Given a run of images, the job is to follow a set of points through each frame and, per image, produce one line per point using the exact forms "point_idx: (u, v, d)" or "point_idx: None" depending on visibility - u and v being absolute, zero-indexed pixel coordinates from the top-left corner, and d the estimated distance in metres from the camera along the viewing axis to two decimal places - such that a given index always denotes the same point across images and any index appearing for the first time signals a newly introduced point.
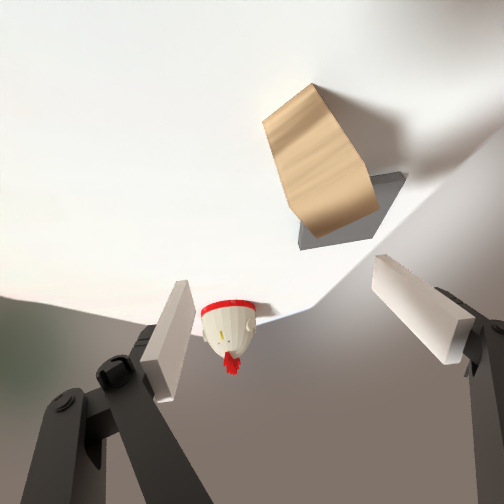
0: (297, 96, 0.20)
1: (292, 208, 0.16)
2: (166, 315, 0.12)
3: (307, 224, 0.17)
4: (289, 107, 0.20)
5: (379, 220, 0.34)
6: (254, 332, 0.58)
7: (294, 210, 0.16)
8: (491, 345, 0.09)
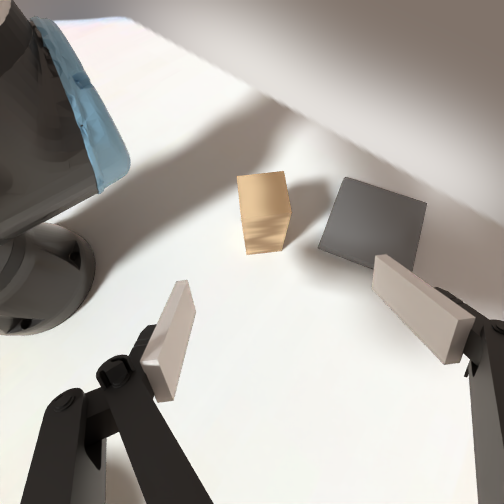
0: None
1: (243, 216, 0.23)
2: (166, 315, 0.12)
3: (267, 213, 0.23)
4: None
5: (393, 195, 0.34)
6: None
7: (246, 216, 0.23)
8: (491, 345, 0.09)
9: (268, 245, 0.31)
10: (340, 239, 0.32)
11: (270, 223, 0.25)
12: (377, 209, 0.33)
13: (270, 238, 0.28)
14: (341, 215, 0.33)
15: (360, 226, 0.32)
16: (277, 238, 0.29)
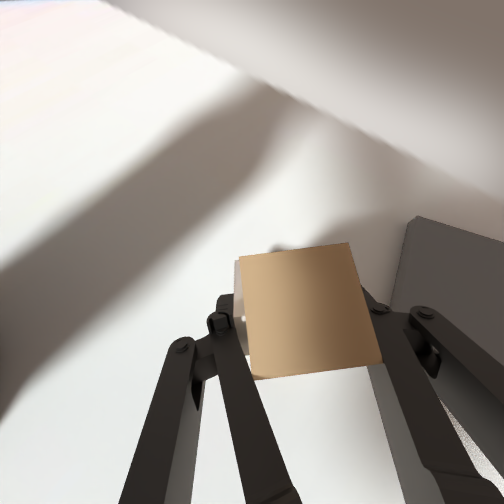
0: None
1: (259, 376, 0.09)
2: (239, 285, 0.14)
3: (320, 366, 0.09)
4: None
5: None
6: None
7: (266, 375, 0.09)
8: (374, 327, 0.10)
9: None
10: None
11: None
12: (483, 276, 0.19)
13: None
14: (421, 287, 0.19)
15: (458, 309, 0.18)
16: None
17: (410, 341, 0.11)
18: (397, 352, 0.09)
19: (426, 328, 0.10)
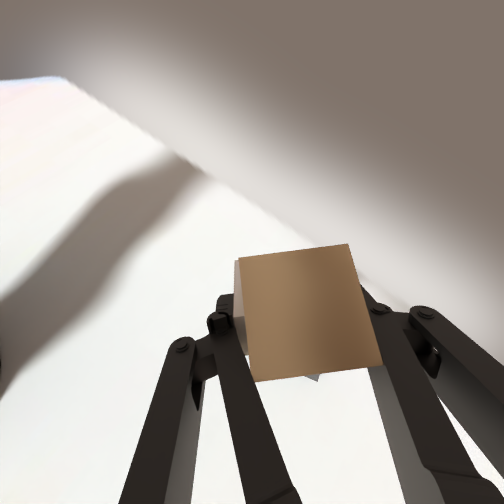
0: None
1: (258, 378, 0.09)
2: (239, 285, 0.14)
3: (320, 367, 0.09)
4: None
5: None
6: None
7: (265, 376, 0.09)
8: (374, 327, 0.10)
9: None
10: None
11: None
12: None
13: None
14: None
15: None
16: None
17: (410, 341, 0.11)
18: (397, 352, 0.09)
19: (426, 328, 0.10)
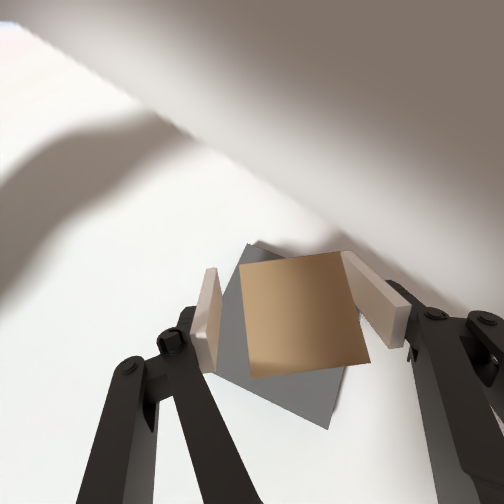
0: None
1: (257, 375, 0.10)
2: (204, 297, 0.14)
3: (313, 365, 0.10)
4: None
5: None
6: None
7: (264, 373, 0.10)
8: (426, 332, 0.10)
9: None
10: (224, 353, 0.20)
11: None
12: None
13: None
14: (232, 309, 0.21)
15: None
16: None
17: None
18: (449, 360, 0.08)
19: (485, 333, 0.09)
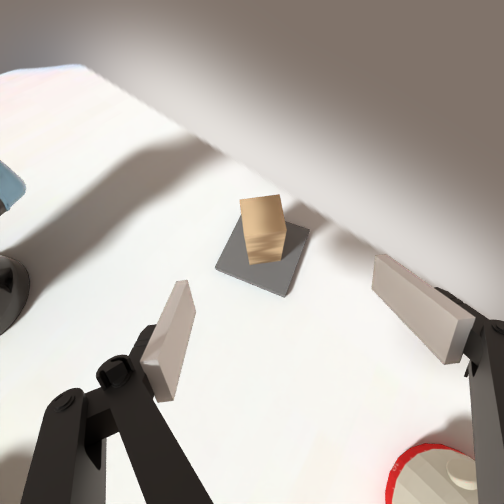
0: None
1: (246, 234, 0.27)
2: (166, 315, 0.12)
3: (266, 231, 0.27)
4: None
5: None
6: None
7: (248, 234, 0.27)
8: (491, 345, 0.09)
9: (268, 256, 0.35)
10: (232, 262, 0.38)
11: (268, 239, 0.29)
12: None
13: (269, 250, 0.32)
14: (236, 241, 0.39)
15: None
16: (275, 250, 0.33)
17: None
18: None
19: None
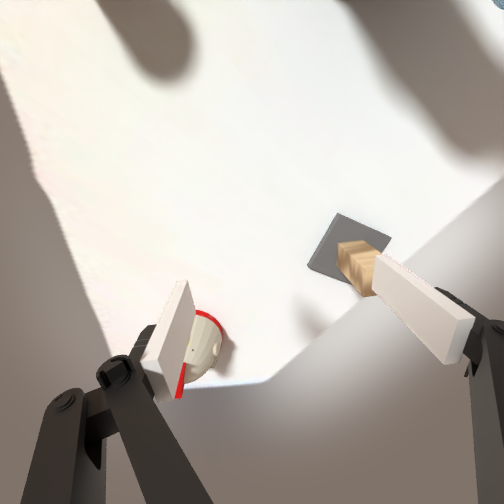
0: (356, 241, 0.45)
1: (366, 271, 0.35)
2: (166, 315, 0.12)
3: (365, 284, 0.36)
4: (352, 242, 0.45)
5: None
6: (213, 364, 0.50)
7: (366, 272, 0.35)
8: (491, 345, 0.09)
9: (342, 262, 0.44)
10: (341, 229, 0.44)
11: (358, 280, 0.38)
12: None
13: (348, 269, 0.42)
14: (360, 231, 0.45)
15: None
16: (346, 272, 0.43)
17: None
18: None
19: None
